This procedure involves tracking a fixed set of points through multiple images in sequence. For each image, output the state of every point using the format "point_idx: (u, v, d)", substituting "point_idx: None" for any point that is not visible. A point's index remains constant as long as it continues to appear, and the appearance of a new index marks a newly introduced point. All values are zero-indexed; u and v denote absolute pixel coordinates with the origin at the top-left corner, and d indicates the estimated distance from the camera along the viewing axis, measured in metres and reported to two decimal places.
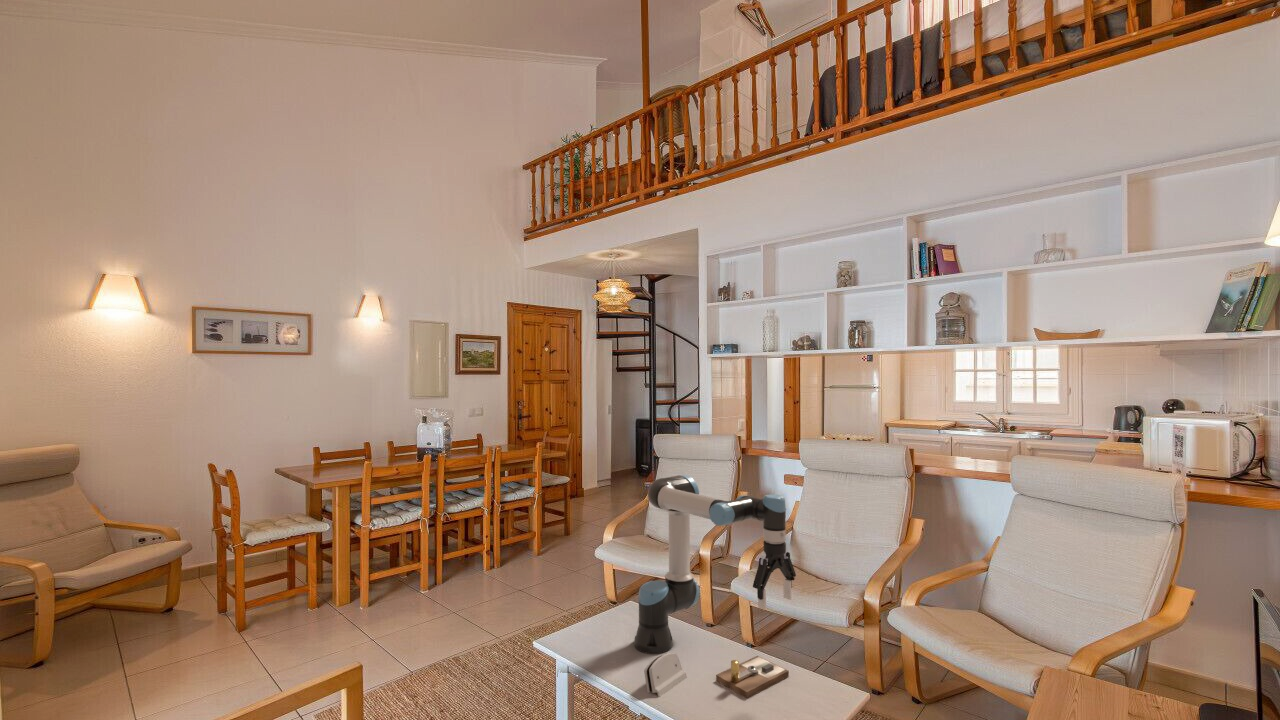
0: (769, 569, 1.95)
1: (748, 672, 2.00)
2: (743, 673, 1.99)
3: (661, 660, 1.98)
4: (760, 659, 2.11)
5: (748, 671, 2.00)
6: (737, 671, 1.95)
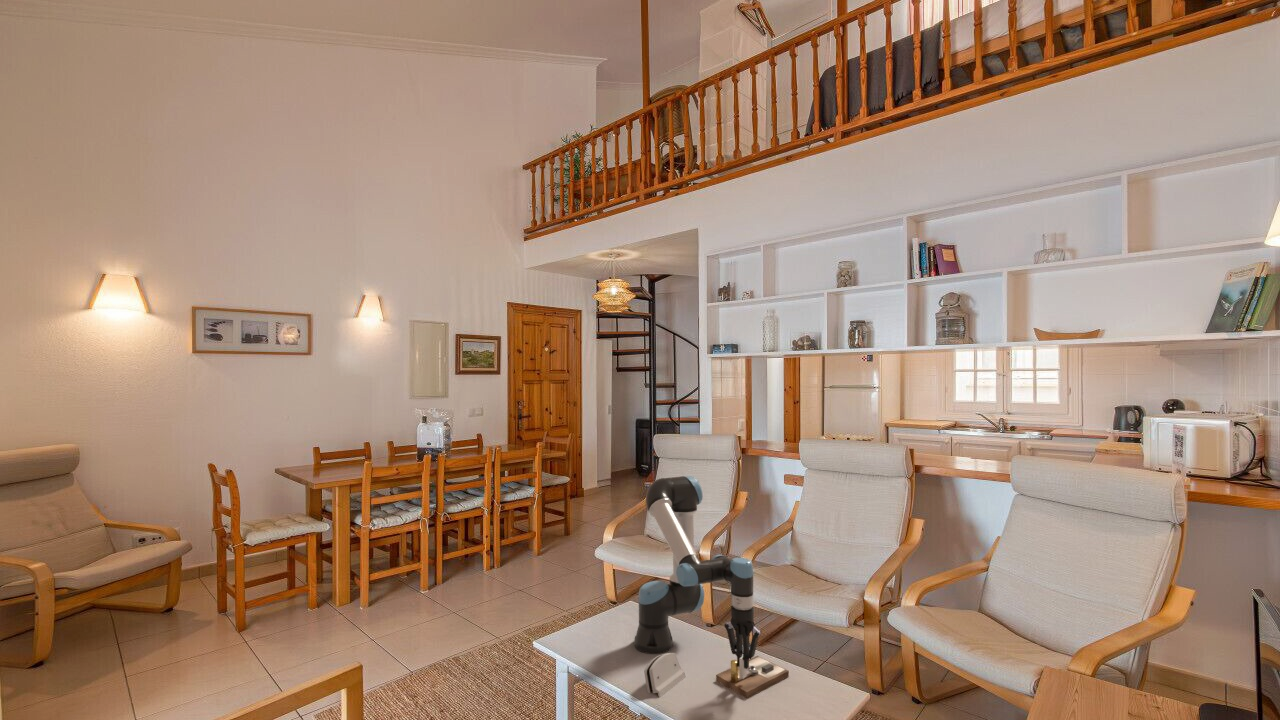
0: None
1: (748, 672, 2.00)
2: None
3: (661, 660, 1.98)
4: (760, 659, 2.11)
5: (748, 671, 2.00)
6: (736, 671, 1.95)
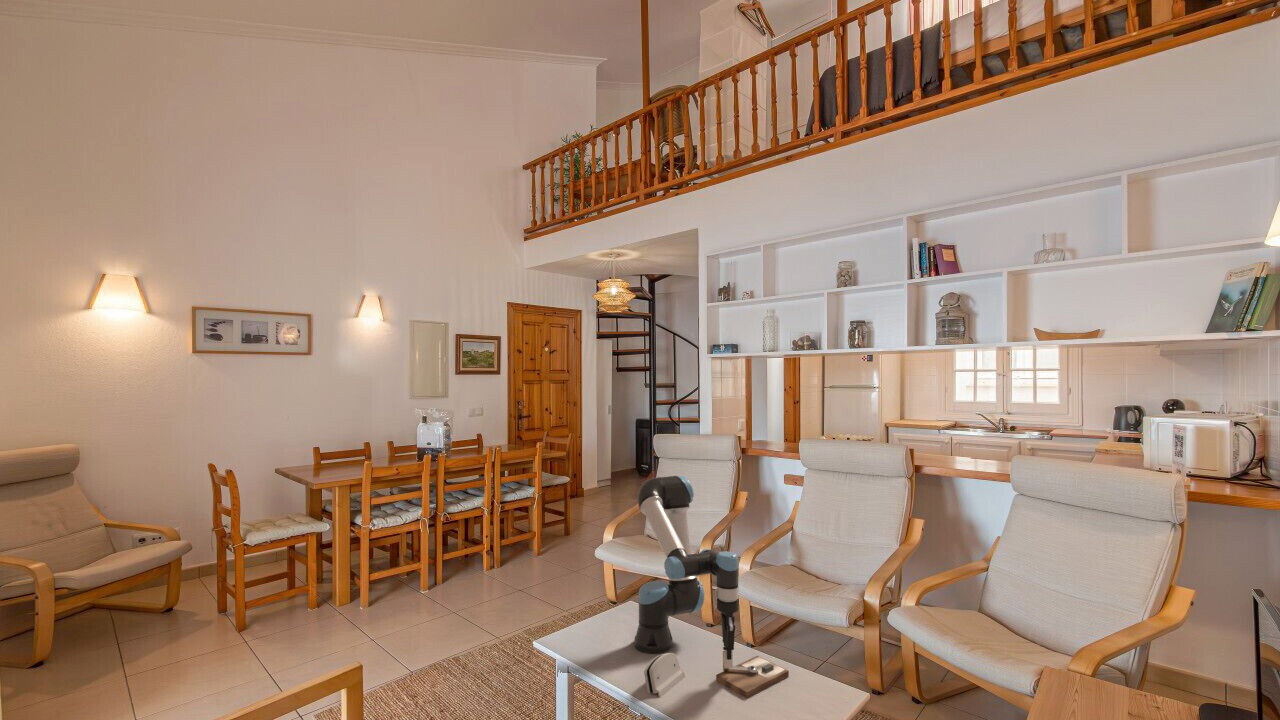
0: None
1: (744, 669, 2.02)
2: (739, 668, 2.03)
3: (660, 660, 1.98)
4: (760, 659, 2.11)
5: (746, 668, 2.02)
6: None
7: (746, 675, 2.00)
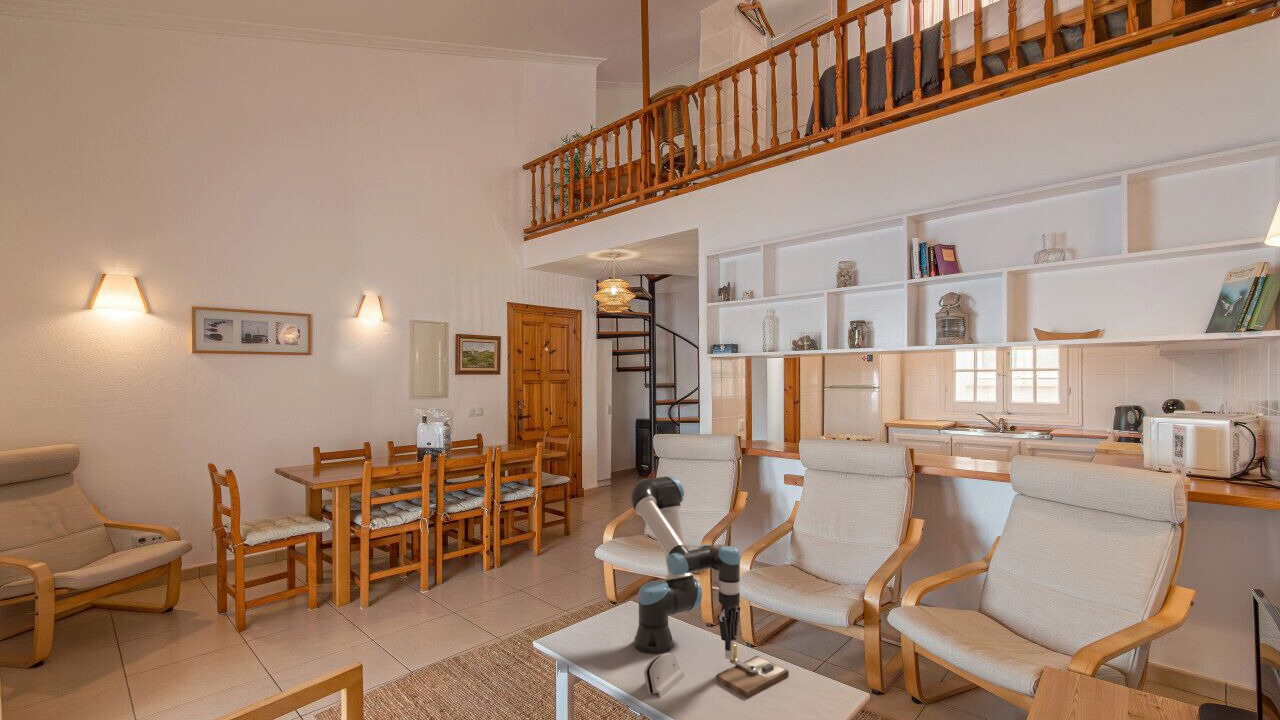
0: None
1: (745, 666, 2.04)
2: (742, 663, 2.06)
3: (660, 660, 1.98)
4: (760, 659, 2.11)
5: (747, 666, 2.04)
6: None
7: (746, 675, 2.00)
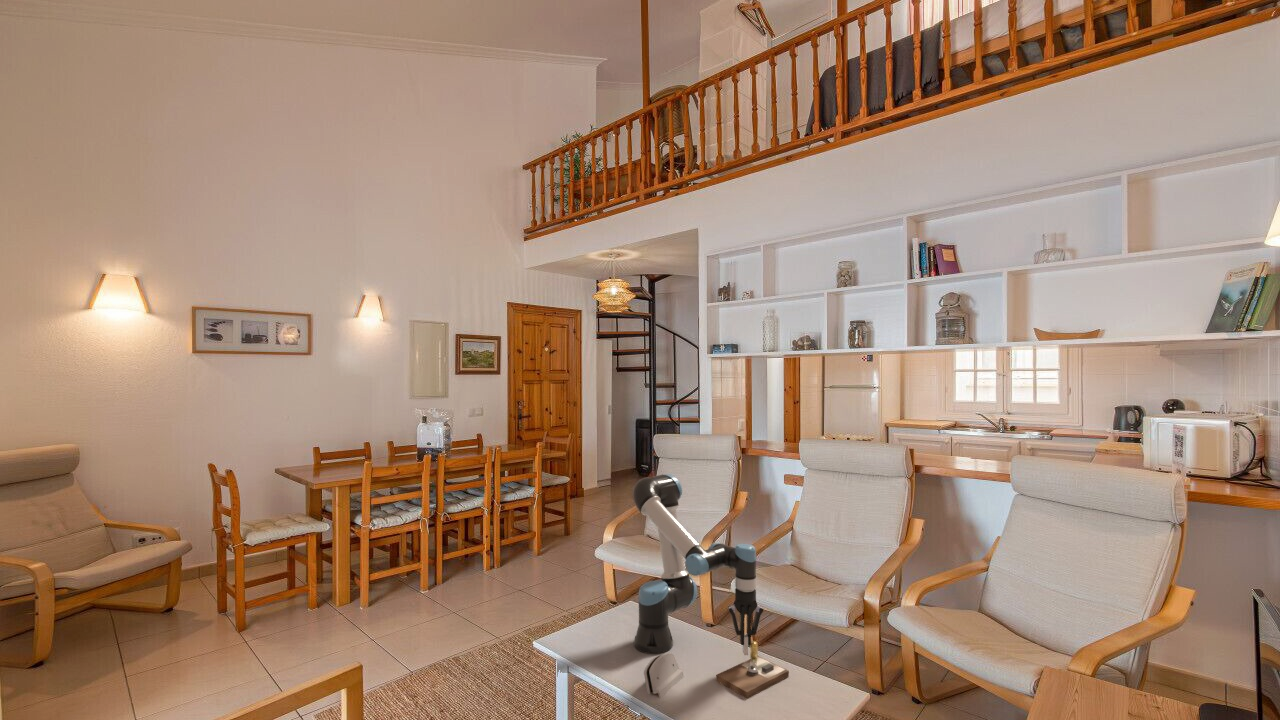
0: None
1: (751, 665, 2.05)
2: (753, 662, 2.06)
3: (660, 660, 1.98)
4: (760, 659, 2.11)
5: (752, 666, 2.04)
6: None
7: (746, 675, 2.00)
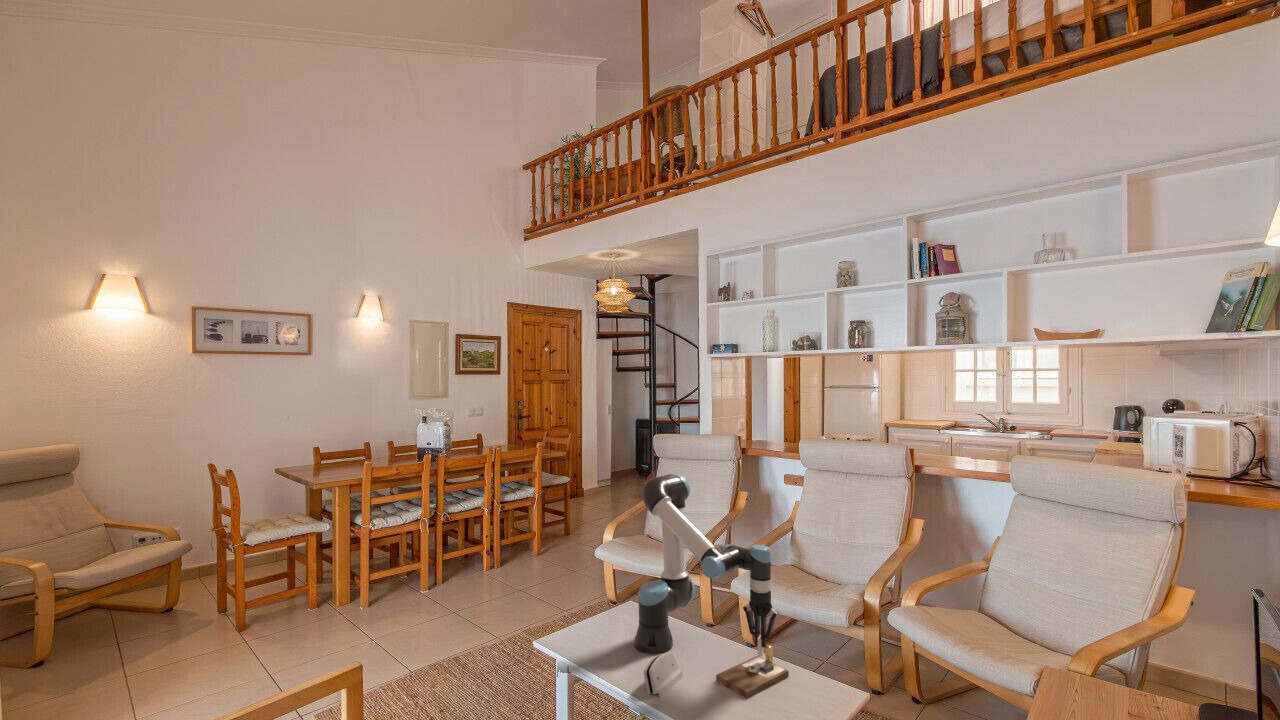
0: (766, 617, 2.10)
1: (756, 666, 2.04)
2: (761, 665, 2.05)
3: (659, 660, 1.98)
4: (760, 659, 2.11)
5: (756, 667, 2.03)
6: None
7: (746, 675, 2.00)
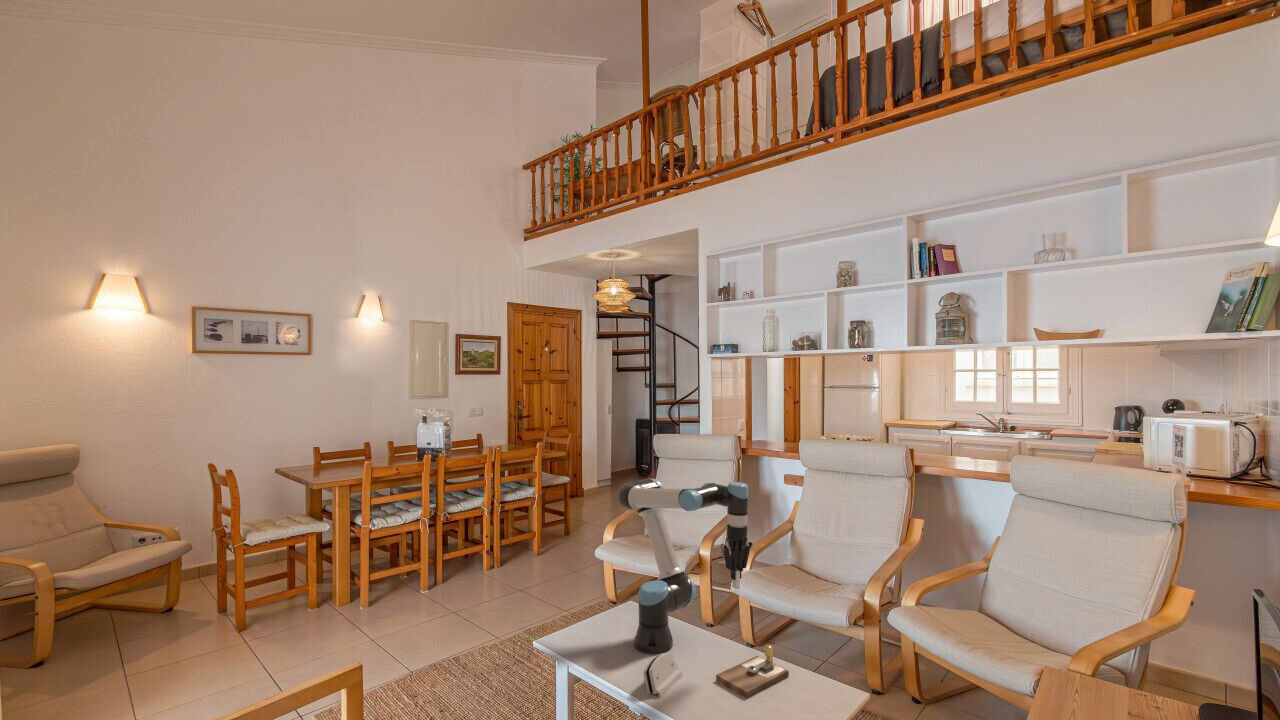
0: None
1: (756, 666, 2.04)
2: (761, 665, 2.05)
3: (659, 660, 1.98)
4: (760, 659, 2.11)
5: (756, 667, 2.03)
6: None
7: (746, 675, 2.00)
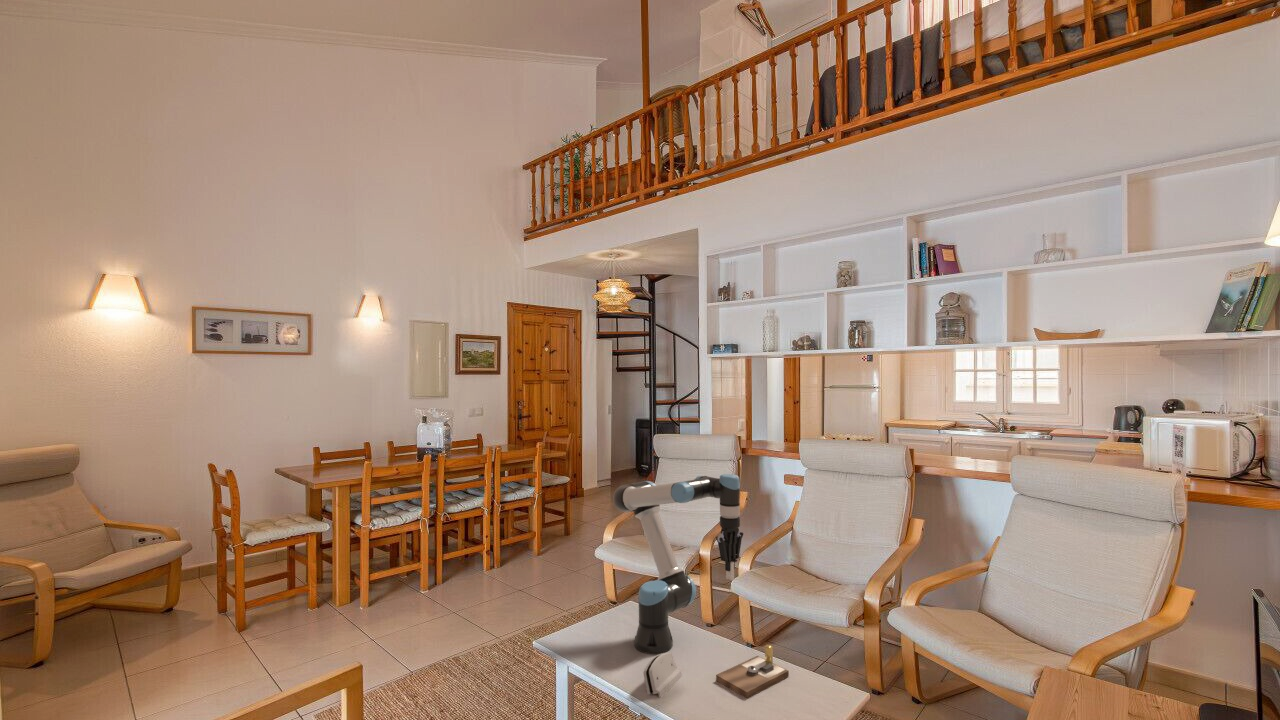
0: None
1: (756, 666, 2.04)
2: (761, 665, 2.05)
3: (659, 661, 1.98)
4: (760, 659, 2.11)
5: (756, 667, 2.03)
6: None
7: (746, 675, 2.00)
